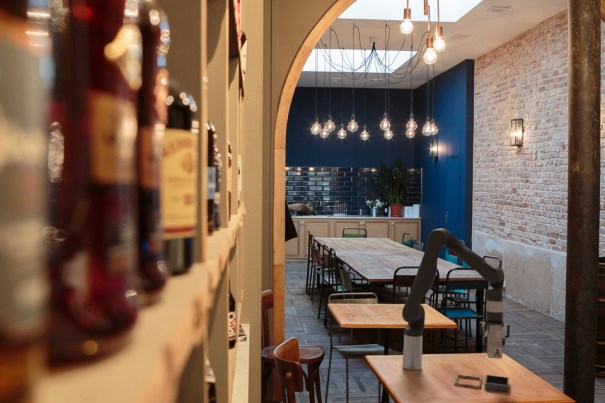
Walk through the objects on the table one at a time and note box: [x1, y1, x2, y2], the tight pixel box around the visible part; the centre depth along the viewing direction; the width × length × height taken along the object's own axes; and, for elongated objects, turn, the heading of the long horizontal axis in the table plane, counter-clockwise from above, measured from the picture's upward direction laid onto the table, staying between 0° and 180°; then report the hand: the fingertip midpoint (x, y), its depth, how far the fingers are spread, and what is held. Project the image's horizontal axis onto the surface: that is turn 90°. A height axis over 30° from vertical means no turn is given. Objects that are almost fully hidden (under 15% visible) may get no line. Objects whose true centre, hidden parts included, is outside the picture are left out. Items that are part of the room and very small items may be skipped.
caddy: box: [484, 374, 510, 394], centre depth 262 cm, size 10×13×3 cm
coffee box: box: [486, 322, 503, 360], centre depth 261 cm, size 9×6×16 cm
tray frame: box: [454, 373, 483, 390], centre depth 267 cm, size 12×14×1 cm
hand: (494, 345), depth 262 cm, fingers closed on coffee box, 7 cm apart
